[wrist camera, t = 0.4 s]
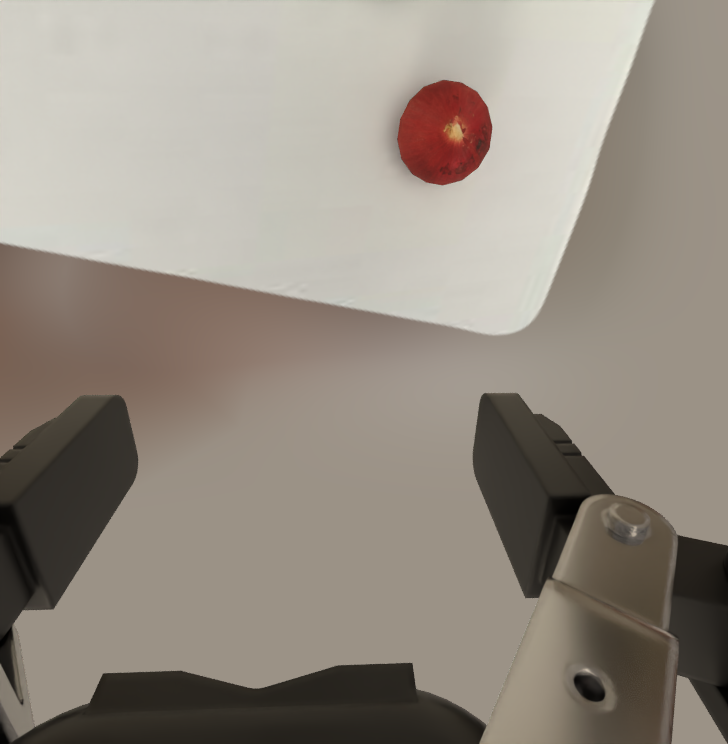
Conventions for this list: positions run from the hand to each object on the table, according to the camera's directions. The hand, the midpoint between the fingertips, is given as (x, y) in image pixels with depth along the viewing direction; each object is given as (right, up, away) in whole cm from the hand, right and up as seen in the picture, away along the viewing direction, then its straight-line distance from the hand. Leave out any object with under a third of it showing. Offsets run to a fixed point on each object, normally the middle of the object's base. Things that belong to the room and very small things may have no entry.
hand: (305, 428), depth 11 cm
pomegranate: (+6, +18, +22) cm, 29 cm away
